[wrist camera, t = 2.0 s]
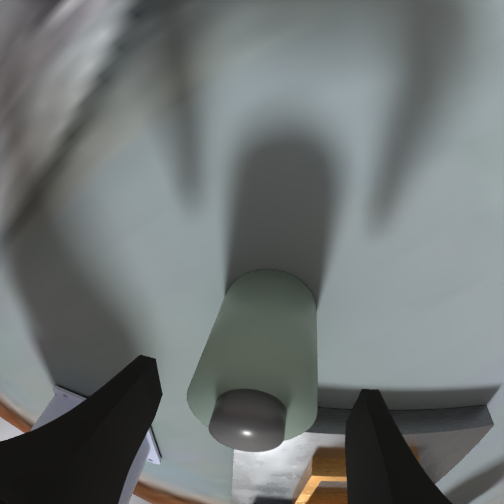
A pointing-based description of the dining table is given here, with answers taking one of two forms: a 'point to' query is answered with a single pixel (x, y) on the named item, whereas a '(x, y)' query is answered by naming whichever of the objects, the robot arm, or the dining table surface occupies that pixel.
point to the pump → (259, 364)
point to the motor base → (333, 455)
